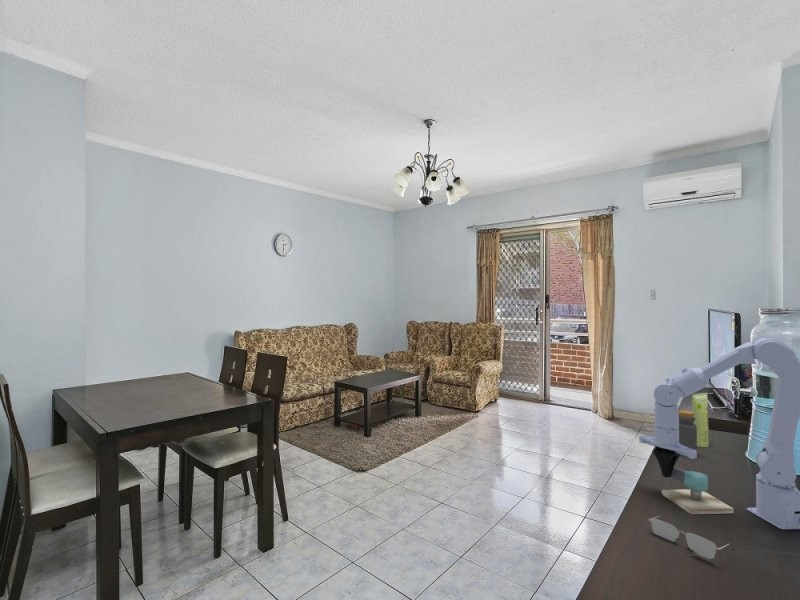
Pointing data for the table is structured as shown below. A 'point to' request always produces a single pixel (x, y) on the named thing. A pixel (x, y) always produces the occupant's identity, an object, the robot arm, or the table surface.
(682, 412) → the bottle
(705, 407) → the tube
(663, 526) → the eyeglasses
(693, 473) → the teal grey handled piece
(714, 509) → the post block
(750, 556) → the table surface
